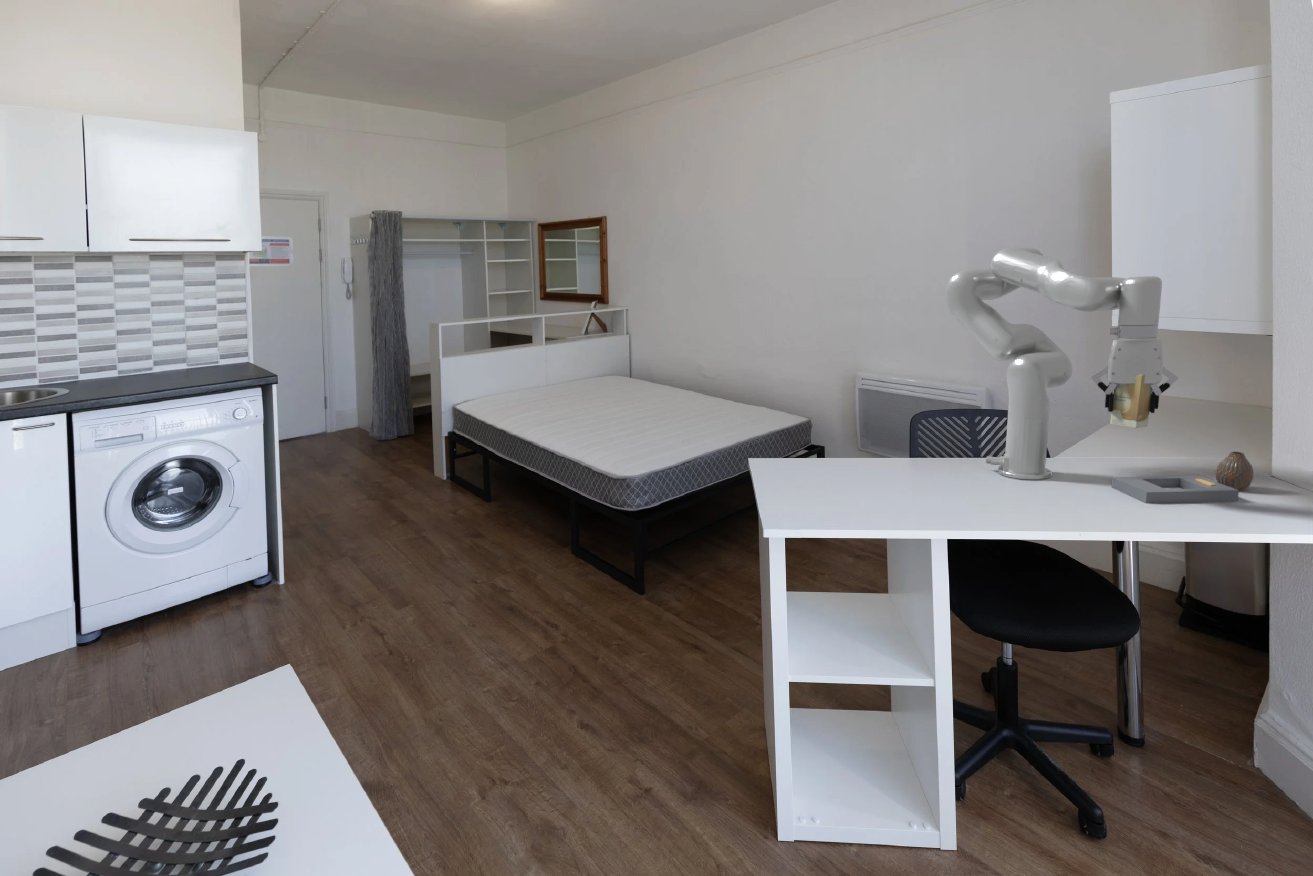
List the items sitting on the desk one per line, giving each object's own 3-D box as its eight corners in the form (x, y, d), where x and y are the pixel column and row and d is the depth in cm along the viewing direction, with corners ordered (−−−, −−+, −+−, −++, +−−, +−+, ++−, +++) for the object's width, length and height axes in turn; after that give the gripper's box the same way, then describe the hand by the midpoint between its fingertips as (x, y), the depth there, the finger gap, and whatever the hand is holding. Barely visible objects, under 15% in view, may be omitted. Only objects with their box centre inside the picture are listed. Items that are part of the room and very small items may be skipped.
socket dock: (1145, 503, 160) (1147, 491, 159) (1111, 487, 173) (1112, 476, 172) (1237, 501, 159) (1239, 489, 159) (1196, 485, 172) (1197, 474, 171)
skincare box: (1109, 424, 165) (1113, 372, 162) (1121, 422, 166) (1125, 370, 164) (1137, 428, 159) (1142, 374, 156) (1149, 426, 161) (1154, 372, 158)
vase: (1221, 491, 166) (1225, 455, 165) (1209, 484, 173) (1213, 448, 171) (1256, 493, 164) (1262, 456, 162) (1243, 485, 170) (1248, 450, 169)
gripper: (1092, 334, 159) (1087, 412, 163) (1188, 333, 151) (1180, 415, 155) (1090, 332, 166) (1085, 407, 169) (1182, 331, 158) (1174, 410, 161)
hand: (1130, 411), depth 162 cm, fingers closed on skincare box, 7 cm apart
